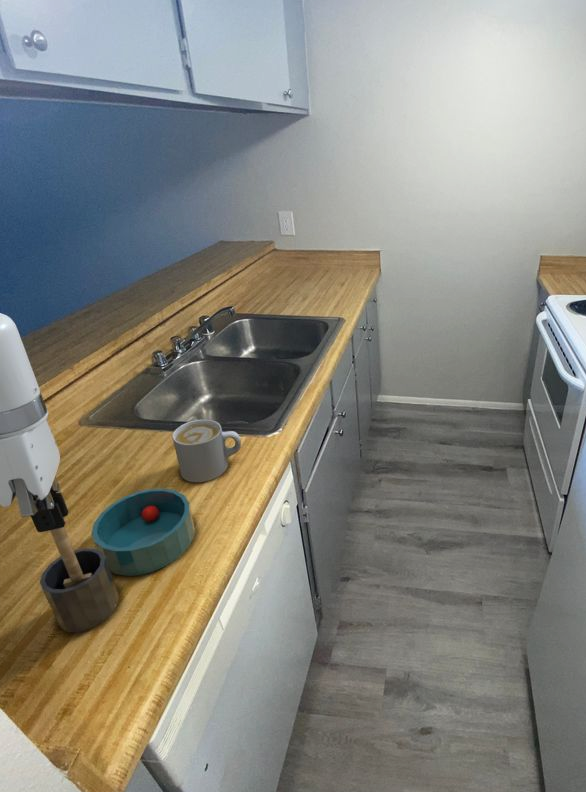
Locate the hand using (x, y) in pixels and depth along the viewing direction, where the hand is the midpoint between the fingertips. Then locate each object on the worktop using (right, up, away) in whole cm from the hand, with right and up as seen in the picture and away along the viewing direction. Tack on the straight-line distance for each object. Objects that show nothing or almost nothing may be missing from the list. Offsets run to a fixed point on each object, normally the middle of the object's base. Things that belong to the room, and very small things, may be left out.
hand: (53, 522), depth 67 cm
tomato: (0, -6, +25) cm, 25 cm away
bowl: (+2, -10, +21) cm, 23 cm away
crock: (-1, -16, +9) cm, 19 cm away
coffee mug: (+6, 0, +41) cm, 41 cm away
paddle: (-1, -15, +8) cm, 17 cm away
